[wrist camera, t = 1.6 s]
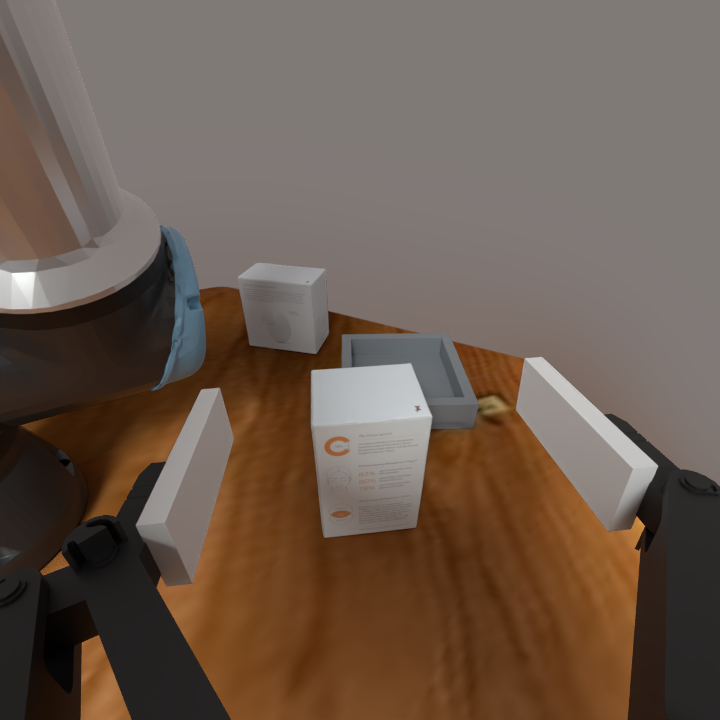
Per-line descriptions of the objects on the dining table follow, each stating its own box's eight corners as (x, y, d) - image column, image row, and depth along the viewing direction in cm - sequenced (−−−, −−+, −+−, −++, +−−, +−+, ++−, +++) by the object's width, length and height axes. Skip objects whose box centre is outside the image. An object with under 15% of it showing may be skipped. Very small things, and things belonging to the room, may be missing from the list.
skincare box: (330, 332, 59) (327, 266, 53) (316, 355, 54) (311, 285, 48) (266, 324, 61) (256, 260, 55) (248, 345, 56) (234, 277, 50)
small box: (402, 469, 38) (413, 361, 30) (417, 529, 33) (435, 417, 25) (319, 477, 37) (309, 367, 30) (321, 540, 32) (310, 426, 24)
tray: (341, 431, 42) (341, 407, 40) (342, 355, 54) (342, 334, 52) (473, 428, 42) (478, 404, 40) (445, 354, 54) (448, 333, 52)
